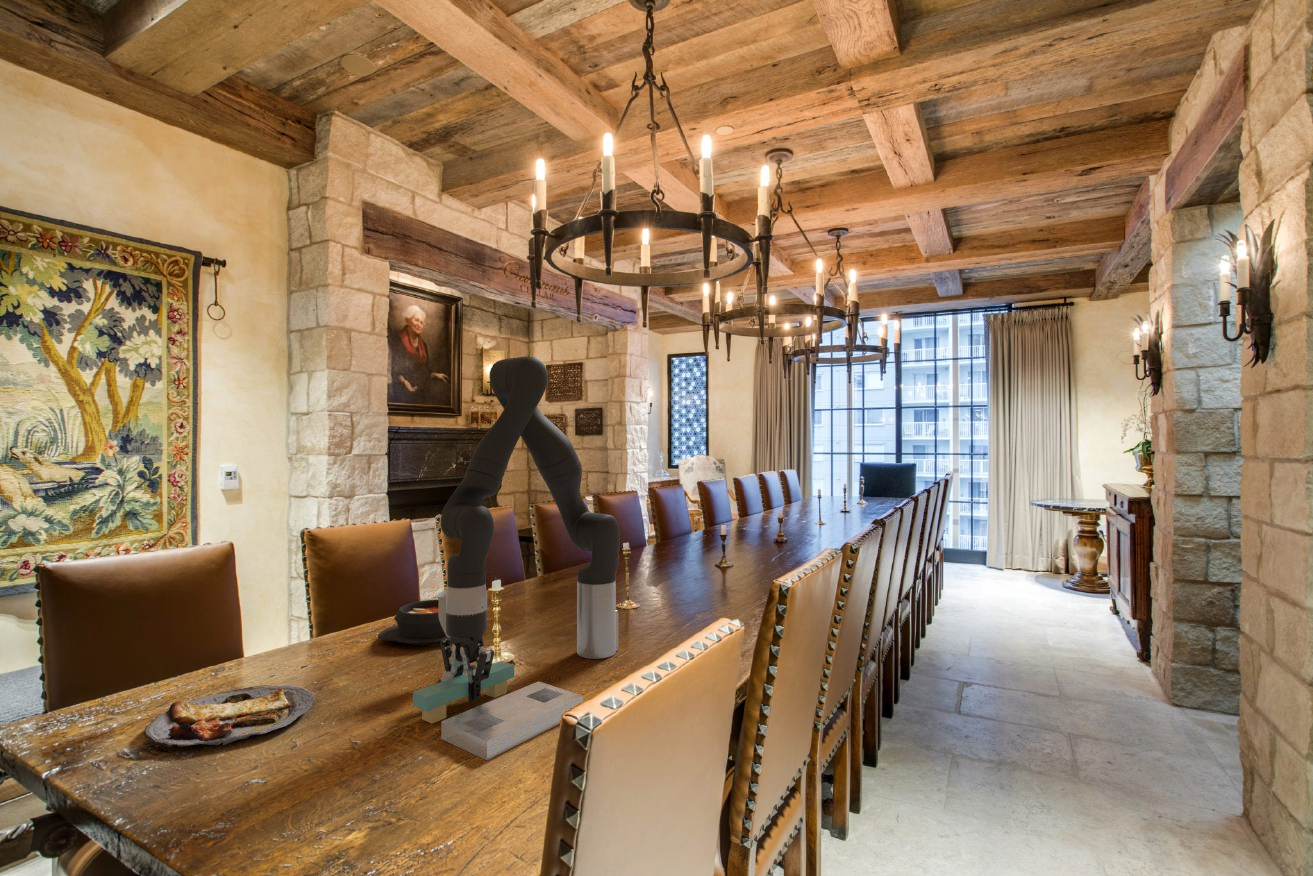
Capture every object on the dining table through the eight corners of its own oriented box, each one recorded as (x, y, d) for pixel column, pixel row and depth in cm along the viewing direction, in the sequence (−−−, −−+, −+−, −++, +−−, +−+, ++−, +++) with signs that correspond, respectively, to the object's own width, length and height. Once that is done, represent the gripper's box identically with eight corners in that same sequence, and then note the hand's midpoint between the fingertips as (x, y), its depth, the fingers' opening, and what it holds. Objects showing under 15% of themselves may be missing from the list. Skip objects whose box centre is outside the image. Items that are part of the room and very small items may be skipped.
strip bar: (501, 686, 128) (501, 660, 128) (514, 691, 126) (514, 664, 126) (412, 721, 112) (413, 692, 112) (425, 727, 109) (426, 697, 110)
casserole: (486, 627, 170) (486, 596, 170) (470, 649, 151) (470, 615, 151) (393, 629, 168) (393, 598, 168) (365, 652, 150) (365, 617, 150)
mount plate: (538, 696, 123) (538, 681, 123) (583, 712, 116) (583, 695, 116) (441, 739, 105) (441, 721, 105) (487, 760, 98) (487, 741, 98)
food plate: (126, 767, 96) (127, 744, 96) (162, 711, 117) (163, 692, 117) (311, 736, 107) (312, 716, 108) (314, 691, 128) (315, 673, 128)
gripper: (506, 609, 118) (506, 700, 118) (460, 598, 126) (460, 683, 126) (473, 618, 112) (473, 714, 112) (427, 606, 120) (427, 695, 120)
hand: (466, 697), depth 119 cm, fingers closed on strip bar, 4 cm apart
